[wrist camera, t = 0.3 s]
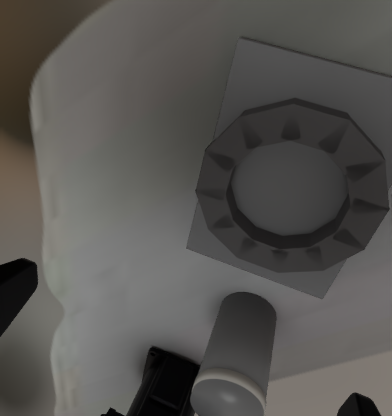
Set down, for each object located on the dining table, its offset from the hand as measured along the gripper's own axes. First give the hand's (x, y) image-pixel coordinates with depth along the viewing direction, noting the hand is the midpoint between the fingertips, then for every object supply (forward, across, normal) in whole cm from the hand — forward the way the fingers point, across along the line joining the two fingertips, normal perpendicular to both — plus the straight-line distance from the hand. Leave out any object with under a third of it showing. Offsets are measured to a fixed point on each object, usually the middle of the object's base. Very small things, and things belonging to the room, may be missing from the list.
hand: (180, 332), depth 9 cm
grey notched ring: (+14, -2, +1) cm, 14 cm away
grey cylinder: (+14, -3, +13) cm, 19 cm away
